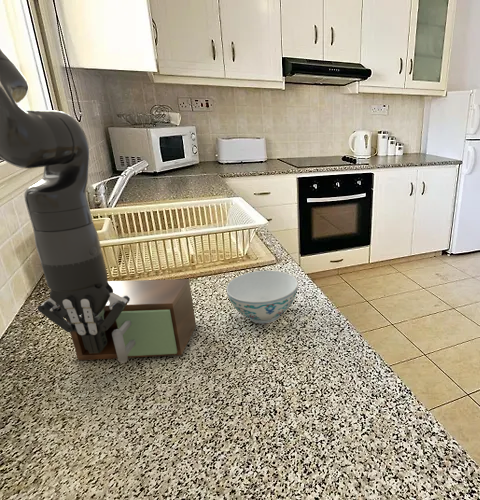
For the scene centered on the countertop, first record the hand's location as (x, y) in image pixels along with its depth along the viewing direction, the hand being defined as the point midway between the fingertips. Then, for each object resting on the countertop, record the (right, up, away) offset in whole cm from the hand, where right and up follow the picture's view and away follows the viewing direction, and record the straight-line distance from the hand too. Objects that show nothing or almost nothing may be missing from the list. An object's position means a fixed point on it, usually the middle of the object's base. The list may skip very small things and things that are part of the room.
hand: (97, 350), depth 62 cm
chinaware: (+23, +2, +21) cm, 31 cm away
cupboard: (+1, -1, +11) cm, 12 cm away
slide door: (+6, -3, +4) cm, 8 cm away
